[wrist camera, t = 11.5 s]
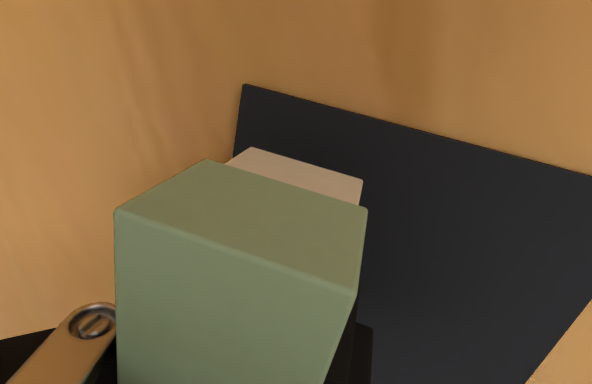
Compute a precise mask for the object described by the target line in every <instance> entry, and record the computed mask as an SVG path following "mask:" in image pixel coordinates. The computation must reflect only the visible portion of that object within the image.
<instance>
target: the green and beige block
mask: <svg viewBox="0 0 592 384" xmlns="http://www.w3.org/2000/svg"><path fill="white" fill-rule="evenodd" d="M362 186H363V180H362V179H358V178H355V177H352V176H348V175H345V174H342V173H338V172H335V171H331V170H328V169H325V168H321V167H318V166H315V165H311V164H308V163H305V162H301V161H298V160H294V159H291V158H288V157H284V156H281V155H278V154H274V153H271V152H267V151H264V150H261V149H257V148H254V147H250V148H248V149H246V150H245V151H243V152H242V153H240V154H239V155H237V156H236V157H234V158H232V159H231V160H229V161H228V162H226V163H225V164H222V163H219V162H216V161H213V160H210V159H204V160H202V161H200V162H198V163H196V164H195V165H193V166H191V167H189V168H187V169H186V170H184V171H182V172H180V173H178V174H176V175H175V176H173V177H171V178H169V179H167V180H166V181H164V182H162V183H160V184H158V185H156V186H155V187H153V188H151V189H149V190H147V191H146V192H144V193H142V194H140V195H138V196H137V197H135V198H133V199H131V200H129V201H127V202H126V203H124V204H122V205H120V206H118V207H117V208H116V209H115V210H114V213H113V220H114V262H115V304H116V346H117V384H323V383H324V380H325V378H326V375H327V372H328V370H329V367H330V364H331V362H332V359H333V357H334V354H335V351H336V349H337V346H338V344H339V341H340V338H341V336H342V333H343V331H344V328H345V325H346V323H347V320H348V318H349V315H350V312H351V310H352V307H353V304H354V302H355V299H356V297H357V292H358V284H359V276H360V269H361V261H362V254H363V246H364V238H365V231H366V223H367V216H368V210H367V209H366V208H365V207H362V206H358V205H359V200H360V196H361V191H362Z"/></svg>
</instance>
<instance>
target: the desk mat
mask: <svg viewBox="0 0 592 384" xmlns="http://www.w3.org/2000/svg"><path fill="white" fill-rule="evenodd" d="M250 147H254V148H257V149H261V150H264V151H267V152H271V153H274V154H278V155H281V156H284V157H288V158H291V159H294V160H298V161H301V162H305V163H308V164H311V165H315V166H318V167H321V168H325V169H328V170H331V171H335V172H338V173H342V174H345V175H348V176H352V177H355V178H358V179H362V180H363V186H362V191H361V196H360V200H359V205H358V206H362V207H365V208H366V209H367V210H368V216H367V223H366V231H365V238H364V246H363V254H362V261H361V269H360V276H359V281H361V284H360V292H359V300H358V308H357V316H356V322H357V323H360V324H363V325H366V326H368V327H371V328H373V349H372V367H371V384H525V383H526V381H527V380H528V379H529V378H530V376H531V375H532V374H533V373H534V371H535V370H536V369H537V368H538V366H539V365H540V364H541V362H542V361H543V360H544V359H545V357H546V356H547V355H548V354H549V352H550V351H551V350H552V349H553V347H554V346H555V345H556V344H557V342H558V341H559V340H560V338H561V337H562V336H563V335H564V333H565V332H566V331H567V330H568V328H569V327H570V326H571V325H572V323H573V322H574V321H575V320H576V318H577V317H578V316H579V314H580V313H581V312H582V311H583V309H584V308H585V307H586V306H587V304H588V303H589V302H590V301H591V299H592V176H590V175H586V174H582V173H578V172H575V171H571V170H567V169H563V168H560V167H556V166H552V165H548V164H545V163H541V162H537V161H533V160H530V159H526V158H522V157H518V156H515V155H511V154H507V153H503V152H500V151H496V150H492V149H489V148H485V147H481V146H477V145H474V144H470V143H466V142H462V141H459V140H455V139H451V138H447V137H444V136H440V135H436V134H432V133H429V132H425V131H421V130H417V129H414V128H410V127H406V126H402V125H399V124H395V123H391V122H387V121H384V120H380V119H376V118H373V117H369V116H365V115H361V114H358V113H354V112H350V111H346V110H343V109H339V108H335V107H331V106H328V105H324V104H320V103H316V102H313V101H309V100H305V99H301V98H298V97H294V96H290V95H286V94H283V93H279V92H275V91H271V90H268V89H264V88H260V87H256V86H253V85H249V84H243V85H242V92H241V100H240V107H239V114H238V121H237V129H236V136H235V143H234V150H233V158H234V157H236V156H237V155H239V154H240V153H242V152H243V151H245V150H246V149H248V148H250Z"/></svg>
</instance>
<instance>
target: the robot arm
mask: <svg viewBox="0 0 592 384" xmlns="http://www.w3.org/2000/svg"><path fill="white" fill-rule="evenodd" d="M360 284H361V281H359V284H358V292H357V297H356V299H355V302H354V304H353V307H352V310H351V312H350V315H349V318H348V320H347V323H346V325H345V328H344V331H343V333H342V336H341V338H340V341H339V344H338V346H337V349H336V351H335V354H334V357H333V359H332V362H331V364H330V367H329V370H328V372H327V375H326V378H325V380H324V383H323V384H371V367H372V349H373V328H371V327H368V326H366V325H363V324H360V323H357V322H356V316H357V308H358V300H359V292H360ZM0 384H117V346H116V305H115V304H112V303H108V302H96V303H90V304H87V305H84V306H81V307H80V308H78V309H76V310H74V311H73V312H72V313H70V314H69V315H68V316H67V317H66V318H65V319H64V320H63V321H62V322H61V323H60V325H59V326H58V327H57V328H53V329H48V330H43V331H39V332H34V333H30V334H25V335H21V336H16V337H11V338H7V339H2V340H0Z"/></svg>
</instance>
